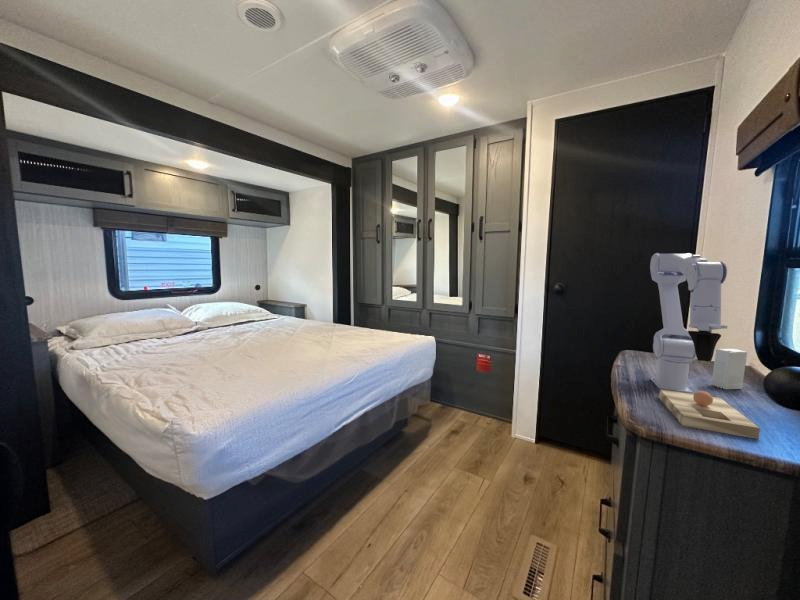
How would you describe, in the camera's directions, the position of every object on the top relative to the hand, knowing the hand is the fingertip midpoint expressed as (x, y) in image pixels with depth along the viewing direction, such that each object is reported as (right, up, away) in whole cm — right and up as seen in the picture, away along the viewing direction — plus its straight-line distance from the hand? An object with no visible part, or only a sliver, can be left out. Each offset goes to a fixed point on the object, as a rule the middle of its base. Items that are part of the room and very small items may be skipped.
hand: (704, 360), depth 81 cm
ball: (-1, -9, 0) cm, 10 cm away
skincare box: (+25, -12, +19) cm, 34 cm away
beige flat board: (-1, -14, 0) cm, 14 cm away
